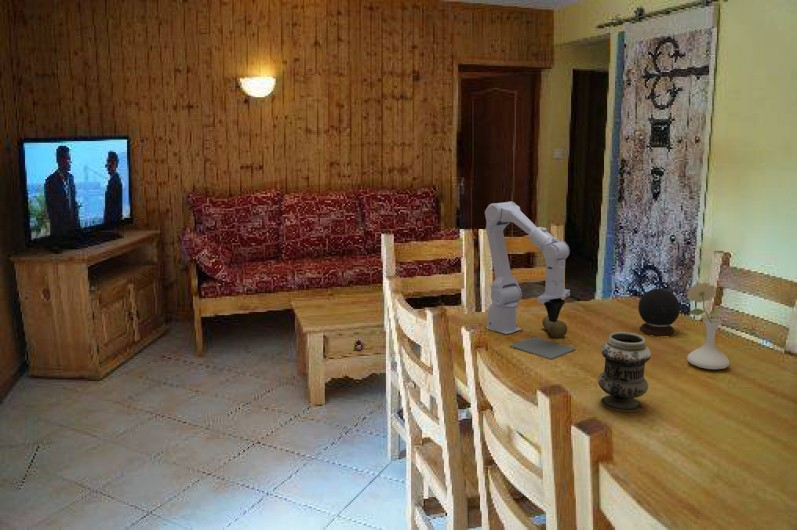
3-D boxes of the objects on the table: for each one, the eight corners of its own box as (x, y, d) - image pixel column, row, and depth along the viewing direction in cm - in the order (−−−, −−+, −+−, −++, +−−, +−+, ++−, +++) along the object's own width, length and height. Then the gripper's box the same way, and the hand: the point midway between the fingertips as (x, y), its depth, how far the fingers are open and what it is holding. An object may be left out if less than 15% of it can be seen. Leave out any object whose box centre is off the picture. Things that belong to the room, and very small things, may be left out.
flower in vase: (728, 362, 195) (737, 280, 190) (729, 375, 185) (739, 289, 180) (681, 356, 200) (688, 276, 195) (679, 368, 190) (687, 285, 185)
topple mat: (509, 346, 209) (509, 345, 209) (534, 337, 218) (534, 336, 218) (551, 359, 198) (551, 358, 197) (575, 349, 206) (575, 348, 206)
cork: (568, 336, 217) (557, 328, 228) (566, 319, 216) (555, 311, 227) (550, 340, 217) (541, 331, 228) (548, 322, 216) (538, 314, 227)
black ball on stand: (681, 329, 226) (684, 287, 223) (673, 340, 215) (677, 296, 212) (641, 323, 233) (644, 282, 230) (632, 333, 222) (635, 290, 219)
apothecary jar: (640, 418, 158) (646, 347, 154) (590, 407, 164) (595, 339, 160) (651, 401, 168) (656, 334, 164) (603, 391, 174) (608, 326, 170)
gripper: (551, 285, 199) (549, 328, 202) (578, 278, 208) (576, 319, 211) (532, 281, 204) (531, 323, 207) (560, 274, 213) (558, 314, 216)
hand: (552, 321), depth 209 cm, fingers closed
